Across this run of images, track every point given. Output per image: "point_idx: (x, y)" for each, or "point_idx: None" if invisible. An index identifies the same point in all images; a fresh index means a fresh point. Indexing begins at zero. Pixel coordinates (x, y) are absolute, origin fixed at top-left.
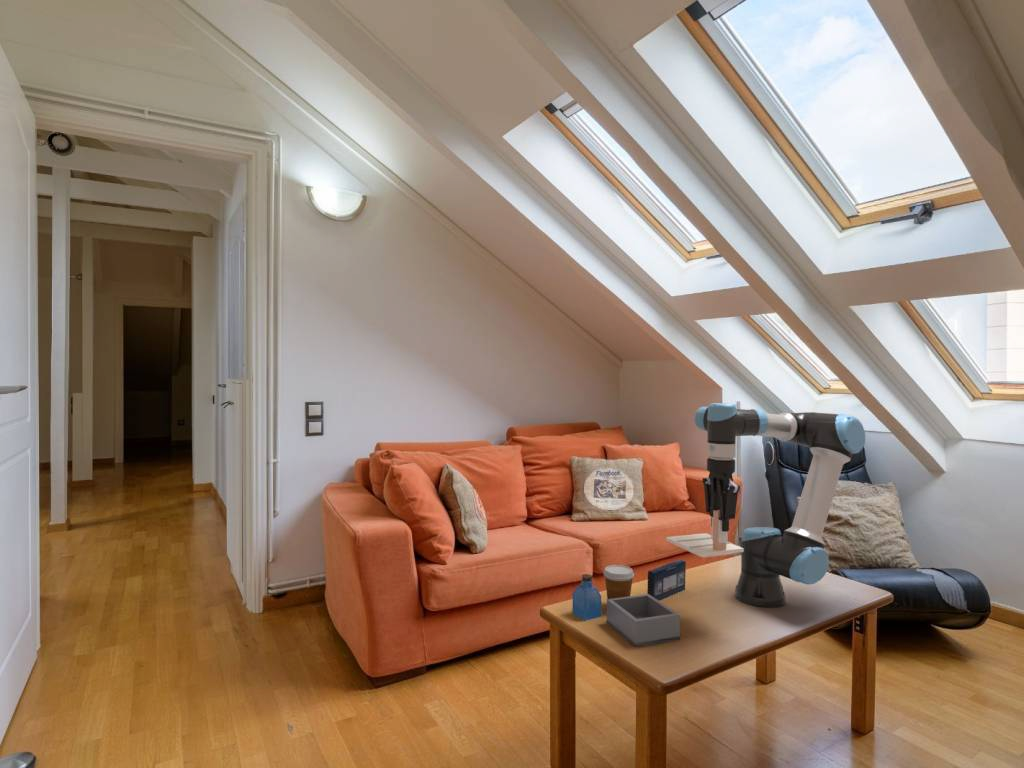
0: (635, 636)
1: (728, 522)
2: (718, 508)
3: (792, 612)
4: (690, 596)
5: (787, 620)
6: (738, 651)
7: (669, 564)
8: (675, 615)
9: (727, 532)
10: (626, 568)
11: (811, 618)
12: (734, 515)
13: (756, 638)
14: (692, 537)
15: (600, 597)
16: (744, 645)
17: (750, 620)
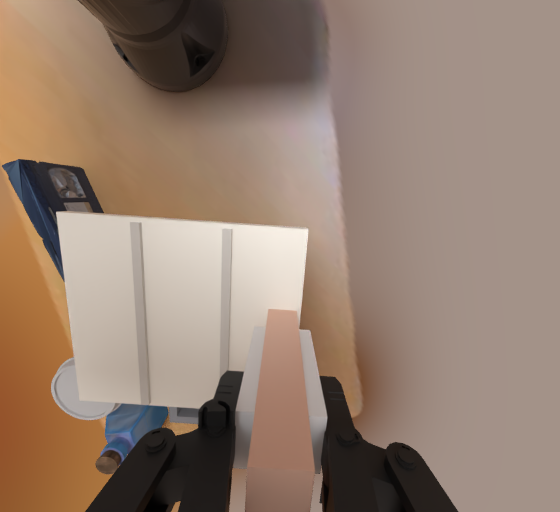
0: None
1: (351, 423)
2: (227, 497)
3: (262, 23)
4: (120, 183)
5: (290, 75)
6: (345, 270)
7: (37, 222)
8: None
9: (315, 360)
10: (75, 369)
11: (303, 7)
12: (432, 482)
13: (324, 206)
14: (107, 315)
15: (144, 412)
16: (334, 246)
17: (261, 154)
